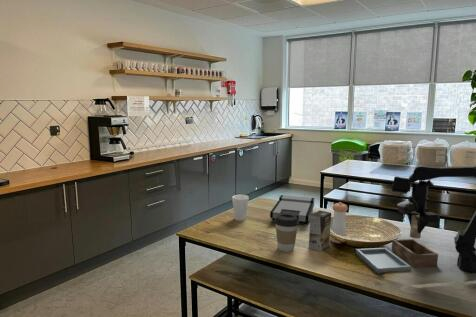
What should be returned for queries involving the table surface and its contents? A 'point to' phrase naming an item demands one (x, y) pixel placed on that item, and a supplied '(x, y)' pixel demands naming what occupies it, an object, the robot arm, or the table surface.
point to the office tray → (294, 208)
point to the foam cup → (240, 206)
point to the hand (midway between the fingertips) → (415, 231)
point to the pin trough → (414, 253)
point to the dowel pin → (414, 227)
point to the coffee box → (319, 230)
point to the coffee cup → (286, 231)
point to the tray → (382, 260)
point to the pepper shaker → (339, 220)
